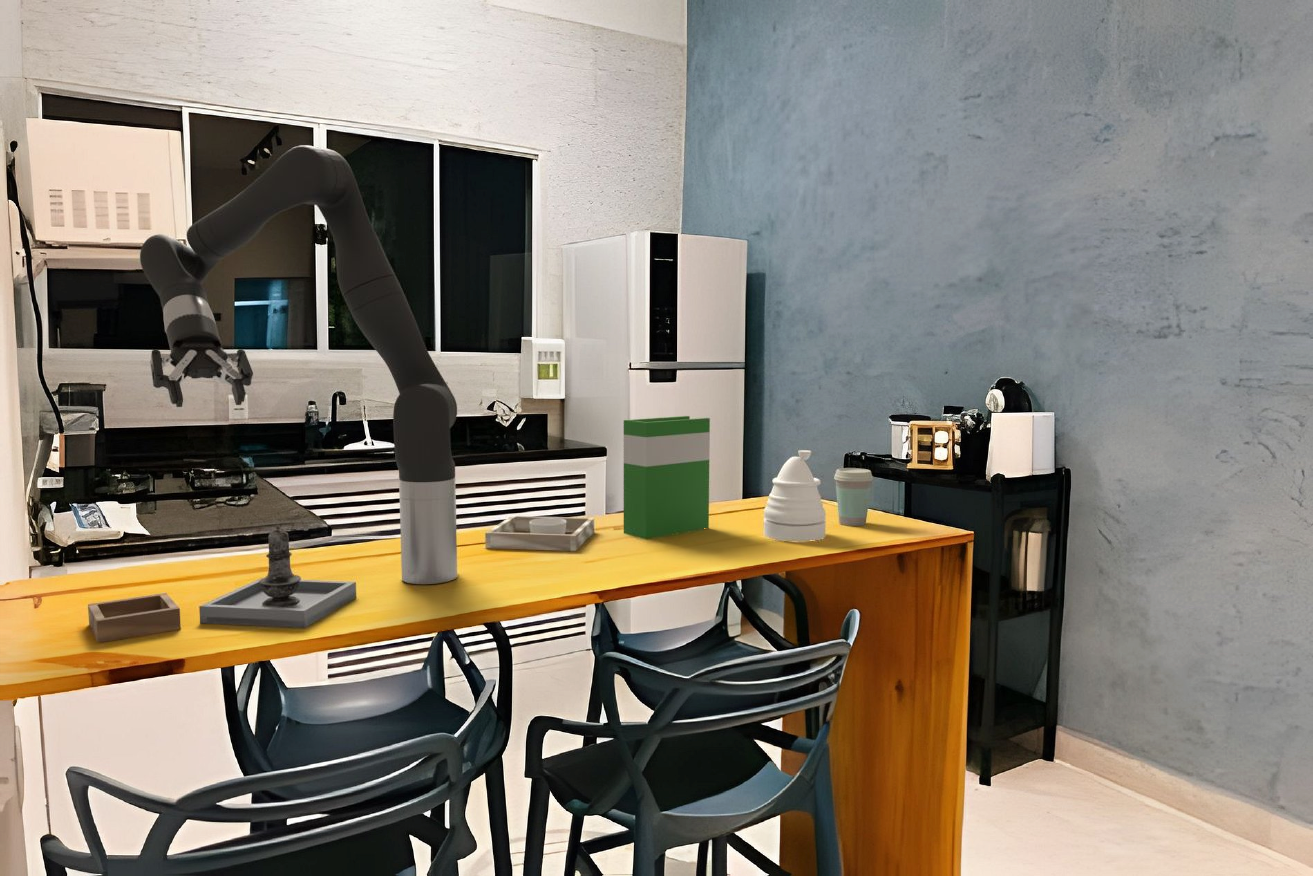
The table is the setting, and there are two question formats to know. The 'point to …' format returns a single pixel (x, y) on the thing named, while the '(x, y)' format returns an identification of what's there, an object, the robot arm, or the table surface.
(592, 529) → the grey wooden tray
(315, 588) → the tray
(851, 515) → the coffee cup
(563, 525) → the light grey bowl
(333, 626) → the table surface
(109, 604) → the collar
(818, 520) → the honey pot
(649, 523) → the green cereal box
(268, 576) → the grey stone finial
